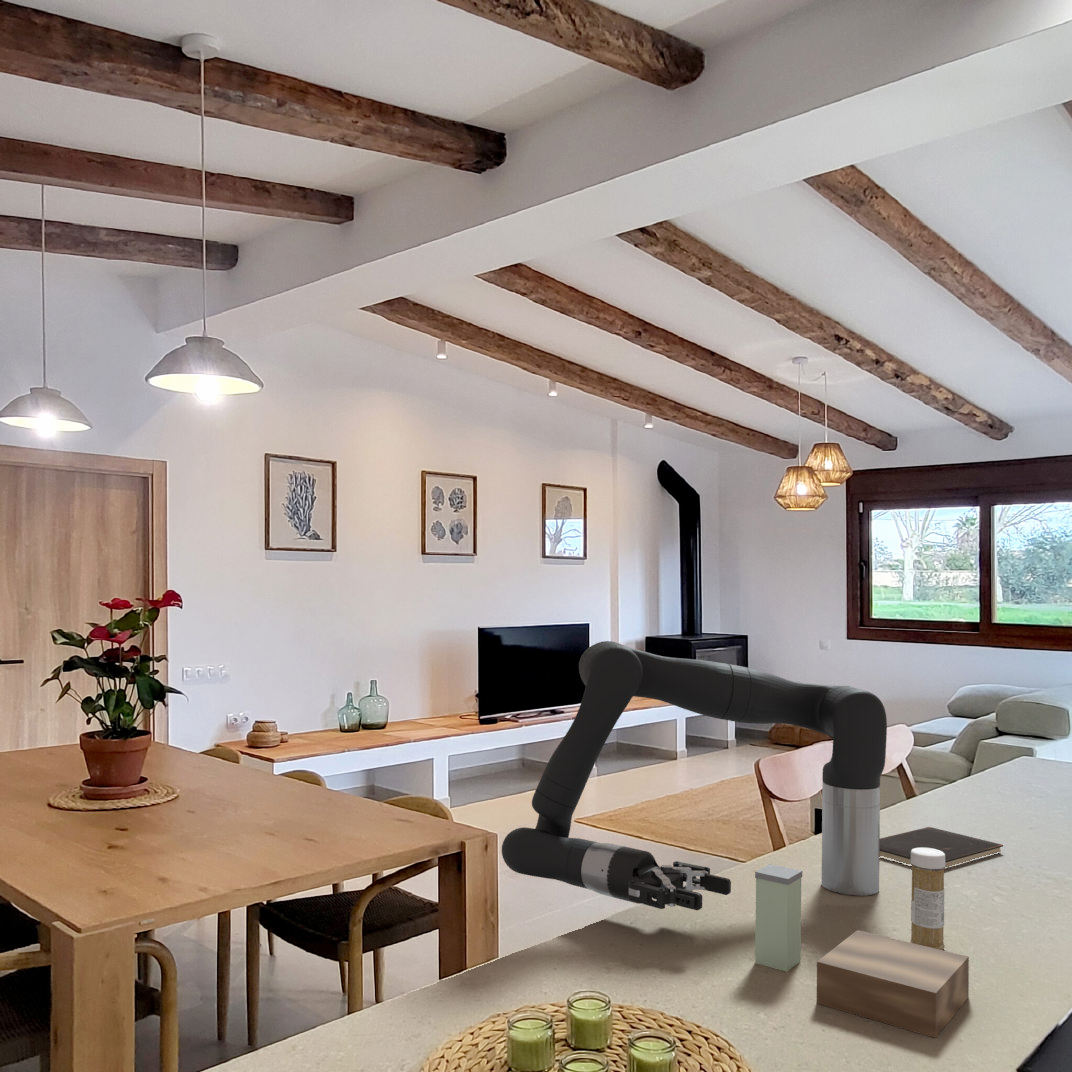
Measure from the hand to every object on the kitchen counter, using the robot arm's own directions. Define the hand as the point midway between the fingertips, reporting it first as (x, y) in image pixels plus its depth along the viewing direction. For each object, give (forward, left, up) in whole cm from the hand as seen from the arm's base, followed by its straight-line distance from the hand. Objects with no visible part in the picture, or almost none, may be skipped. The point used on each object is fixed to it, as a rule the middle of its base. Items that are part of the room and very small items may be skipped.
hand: (715, 894), depth 140 cm
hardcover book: (-69, +9, -8) cm, 70 cm away
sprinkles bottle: (-19, +23, -7) cm, 31 cm away
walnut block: (+2, +25, -7) cm, 26 cm away
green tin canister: (0, +9, -7) cm, 12 cm away
